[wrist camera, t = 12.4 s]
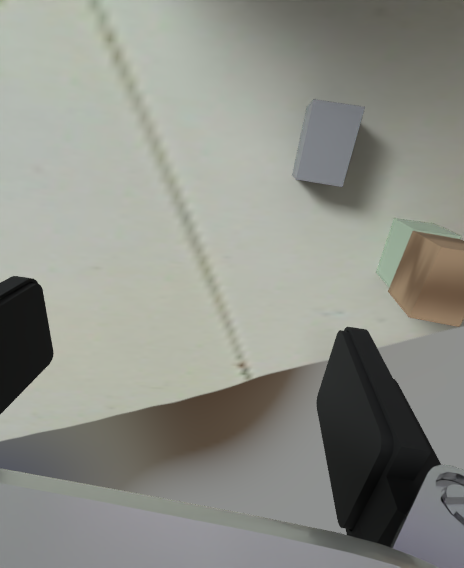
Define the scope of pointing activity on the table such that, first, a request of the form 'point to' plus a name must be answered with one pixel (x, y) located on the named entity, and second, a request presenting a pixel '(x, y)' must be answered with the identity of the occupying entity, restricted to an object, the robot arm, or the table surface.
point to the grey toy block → (327, 142)
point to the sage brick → (404, 244)
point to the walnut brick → (431, 279)
